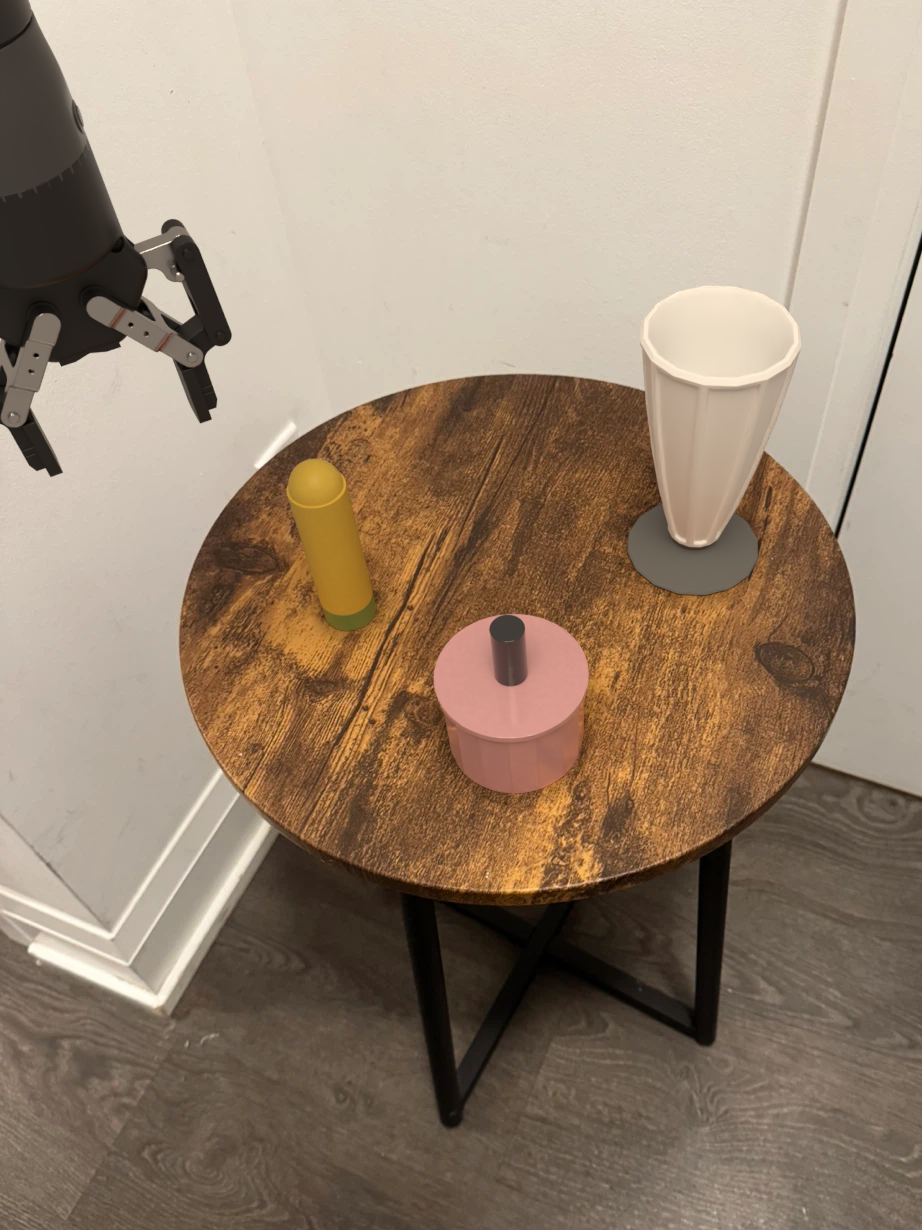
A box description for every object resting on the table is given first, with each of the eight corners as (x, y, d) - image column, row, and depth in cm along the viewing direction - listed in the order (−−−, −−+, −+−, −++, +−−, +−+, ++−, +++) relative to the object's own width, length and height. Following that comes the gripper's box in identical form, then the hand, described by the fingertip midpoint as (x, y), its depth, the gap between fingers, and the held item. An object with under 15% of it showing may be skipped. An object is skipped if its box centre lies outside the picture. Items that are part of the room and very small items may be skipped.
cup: (785, 564, 89) (837, 348, 71) (672, 615, 86) (696, 404, 68) (710, 484, 95) (741, 265, 77) (602, 529, 92) (608, 313, 74)
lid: (443, 758, 71) (433, 706, 66) (428, 635, 77) (417, 578, 72) (601, 735, 71) (604, 681, 66) (574, 614, 78) (574, 557, 72)
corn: (325, 634, 86) (280, 490, 73) (323, 595, 89) (279, 449, 75) (378, 627, 86) (342, 482, 73) (374, 588, 89) (339, 441, 76)
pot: (458, 803, 77) (447, 748, 70) (443, 693, 82) (433, 633, 76) (593, 782, 77) (595, 726, 71) (570, 675, 83) (569, 614, 77)
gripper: (131, 69, 49) (227, 363, 62) (-189, 152, 45) (-14, 445, 58) (180, 138, 45) (271, 435, 58) (-165, 235, 41) (16, 528, 55)
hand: (128, 440), depth 58 cm, fingers open, 8 cm apart
